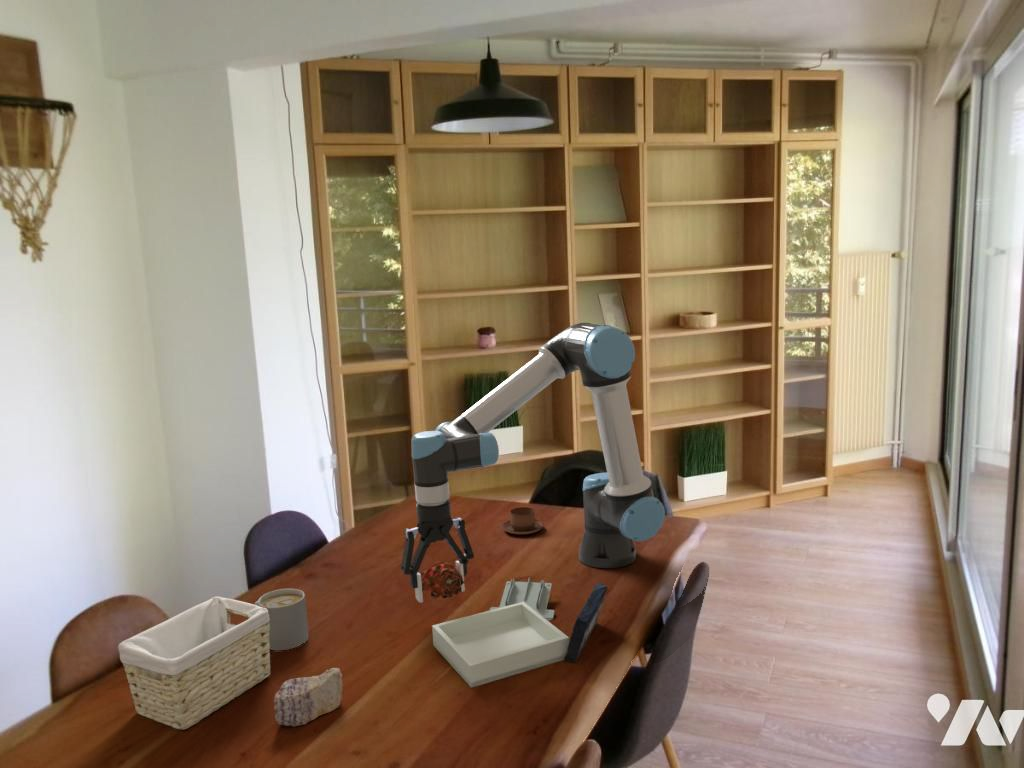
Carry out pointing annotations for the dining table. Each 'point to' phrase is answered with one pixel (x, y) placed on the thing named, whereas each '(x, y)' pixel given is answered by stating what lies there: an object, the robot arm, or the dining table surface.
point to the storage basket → (197, 661)
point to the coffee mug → (285, 618)
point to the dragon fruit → (442, 580)
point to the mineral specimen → (308, 698)
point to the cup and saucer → (522, 521)
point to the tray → (499, 643)
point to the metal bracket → (528, 596)
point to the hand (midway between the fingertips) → (440, 594)
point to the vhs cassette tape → (585, 623)
